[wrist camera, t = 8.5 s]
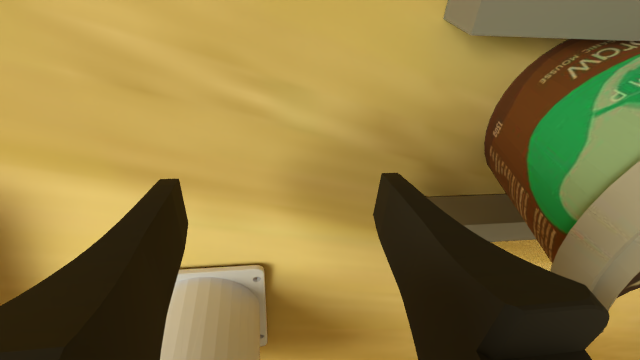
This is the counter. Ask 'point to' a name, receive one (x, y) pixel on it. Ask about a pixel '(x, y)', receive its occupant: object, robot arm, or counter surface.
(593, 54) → the food container
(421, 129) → the counter surface
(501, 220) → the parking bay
